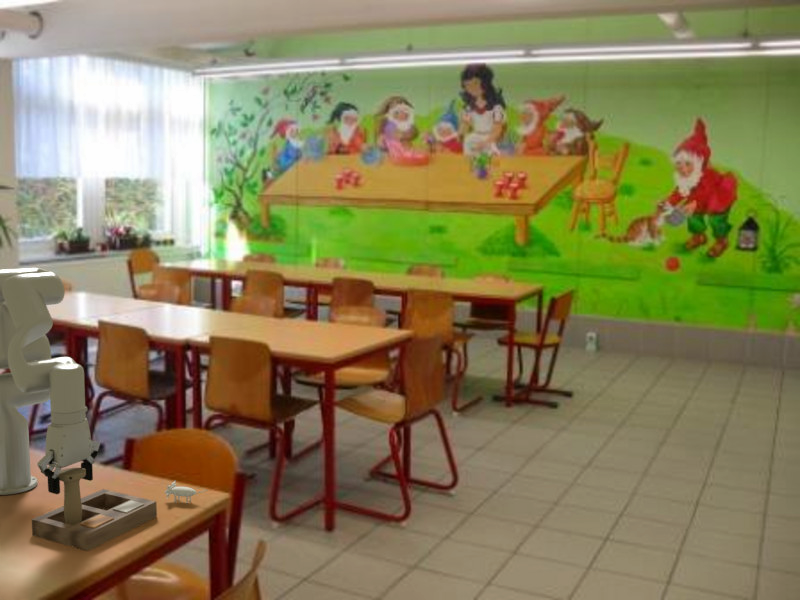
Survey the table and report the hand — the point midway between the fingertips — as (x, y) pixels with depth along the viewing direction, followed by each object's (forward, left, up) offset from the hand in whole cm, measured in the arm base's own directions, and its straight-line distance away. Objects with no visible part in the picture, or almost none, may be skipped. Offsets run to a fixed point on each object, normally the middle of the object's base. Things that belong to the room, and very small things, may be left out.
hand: (71, 486), depth 194 cm
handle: (0, 0, -11) cm, 11 cm away
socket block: (+2, +5, -11) cm, 12 cm away
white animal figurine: (+11, +27, -12) cm, 31 cm away
